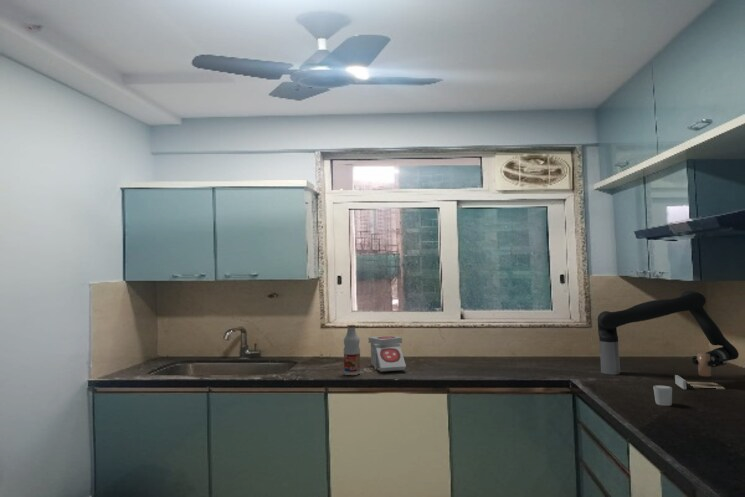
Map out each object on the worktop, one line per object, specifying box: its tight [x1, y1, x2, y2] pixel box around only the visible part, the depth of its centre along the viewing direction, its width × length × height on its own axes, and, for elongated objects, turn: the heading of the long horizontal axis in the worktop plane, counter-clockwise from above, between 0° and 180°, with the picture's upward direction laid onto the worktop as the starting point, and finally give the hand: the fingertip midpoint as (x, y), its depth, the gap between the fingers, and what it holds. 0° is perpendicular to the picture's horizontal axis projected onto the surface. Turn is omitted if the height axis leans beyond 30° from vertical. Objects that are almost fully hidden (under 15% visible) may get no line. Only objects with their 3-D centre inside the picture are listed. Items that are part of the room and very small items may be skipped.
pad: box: [686, 381, 726, 390], centre depth 226 cm, size 12×12×1 cm
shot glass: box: [652, 384, 673, 407], centre depth 199 cm, size 7×7×7 cm
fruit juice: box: [343, 324, 361, 373], centre depth 274 cm, size 9×9×28 cm
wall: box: [674, 374, 688, 390], centre depth 227 cm, size 12×1×4 cm, turn 163°
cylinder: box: [696, 352, 712, 377], centre depth 227 cm, size 5×5×10 cm
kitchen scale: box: [368, 334, 407, 372], centre depth 287 cm, size 19×30×18 cm, turn 12°
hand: (702, 363), depth 225 cm, fingers closed on cylinder, 5 cm apart
